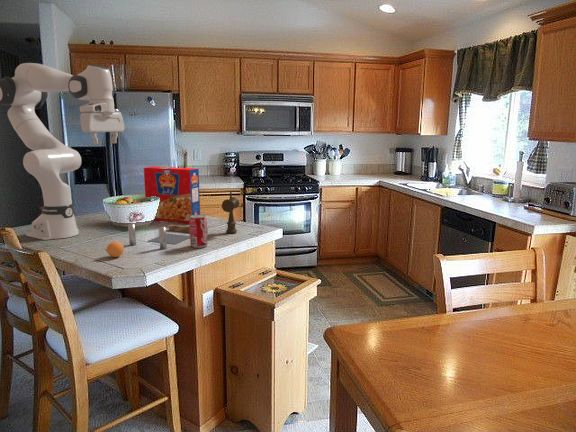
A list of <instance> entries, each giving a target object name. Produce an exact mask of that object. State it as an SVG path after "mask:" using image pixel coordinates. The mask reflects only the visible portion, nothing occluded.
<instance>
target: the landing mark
mask: <svg viewBox="0 0 576 432" xmlns="http://www.w3.org/2000/svg"><path fill="white" fill-rule="evenodd" d="M186 240H190V235H187V234H186V235H183V234H176V233H175V234H174V233H166V245H169V244H170V245H177V244H179V243H182V242H184V241H186ZM149 242H151V243H159V244H160V238H159V236H157V237H154V238H151V239H148V243H149Z"/></svg>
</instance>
